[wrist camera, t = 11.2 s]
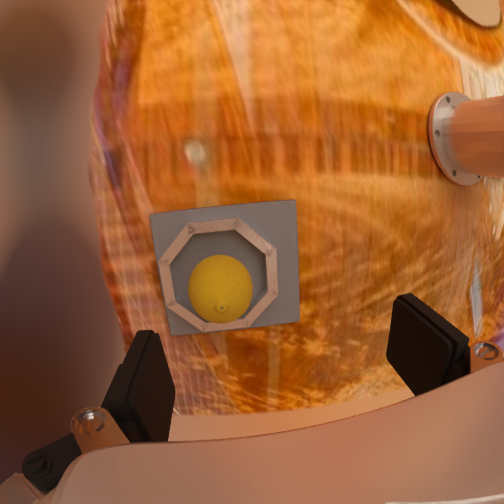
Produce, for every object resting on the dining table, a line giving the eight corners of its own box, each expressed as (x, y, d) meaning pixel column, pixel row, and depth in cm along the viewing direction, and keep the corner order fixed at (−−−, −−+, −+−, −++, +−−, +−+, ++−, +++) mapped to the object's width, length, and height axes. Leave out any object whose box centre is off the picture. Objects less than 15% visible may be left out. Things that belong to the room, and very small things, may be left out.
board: (293, 199, 29) (295, 200, 28) (297, 317, 33) (299, 321, 32) (151, 213, 28) (149, 215, 27) (172, 331, 31) (171, 335, 30)
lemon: (241, 302, 30) (250, 344, 23) (187, 293, 29) (179, 333, 22) (253, 251, 29) (266, 279, 21) (196, 240, 28) (189, 266, 20)
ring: (271, 212, 28) (274, 214, 27) (276, 316, 31) (279, 323, 30) (155, 224, 27) (152, 227, 26) (173, 327, 30) (172, 334, 29)
